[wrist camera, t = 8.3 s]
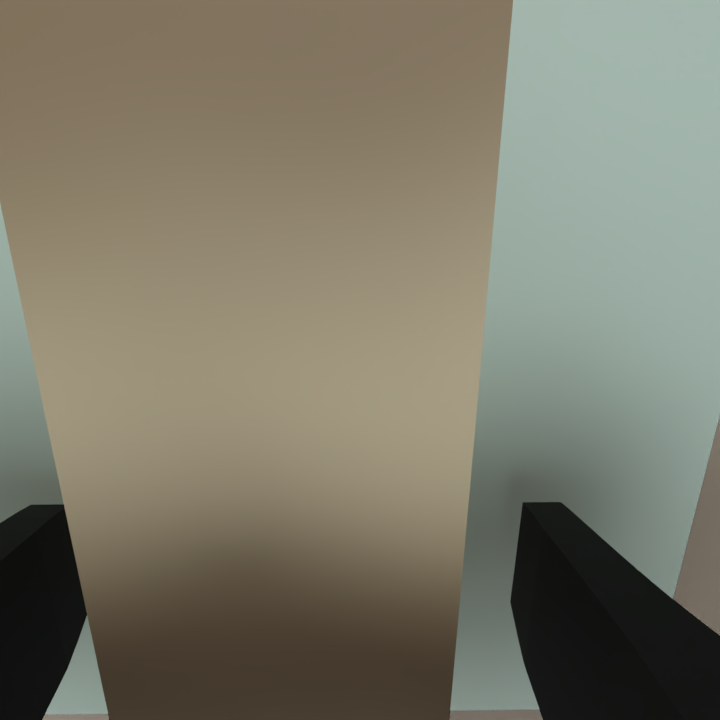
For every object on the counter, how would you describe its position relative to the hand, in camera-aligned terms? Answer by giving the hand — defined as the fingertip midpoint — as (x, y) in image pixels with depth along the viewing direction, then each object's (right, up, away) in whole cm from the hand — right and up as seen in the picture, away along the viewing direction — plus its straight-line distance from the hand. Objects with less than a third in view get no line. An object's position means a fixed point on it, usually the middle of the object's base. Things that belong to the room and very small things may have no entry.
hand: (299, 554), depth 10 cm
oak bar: (0, +7, -2) cm, 7 cm away
